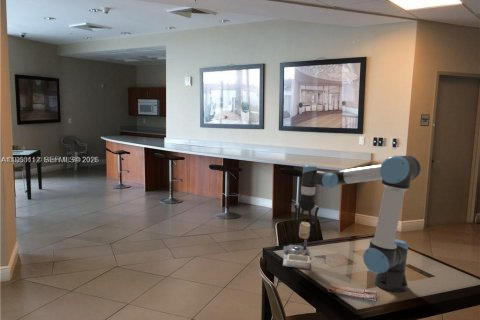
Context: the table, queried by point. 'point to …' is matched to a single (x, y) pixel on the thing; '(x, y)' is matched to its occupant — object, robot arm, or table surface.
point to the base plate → (296, 261)
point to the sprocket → (297, 249)
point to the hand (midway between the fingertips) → (303, 235)
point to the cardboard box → (304, 230)
